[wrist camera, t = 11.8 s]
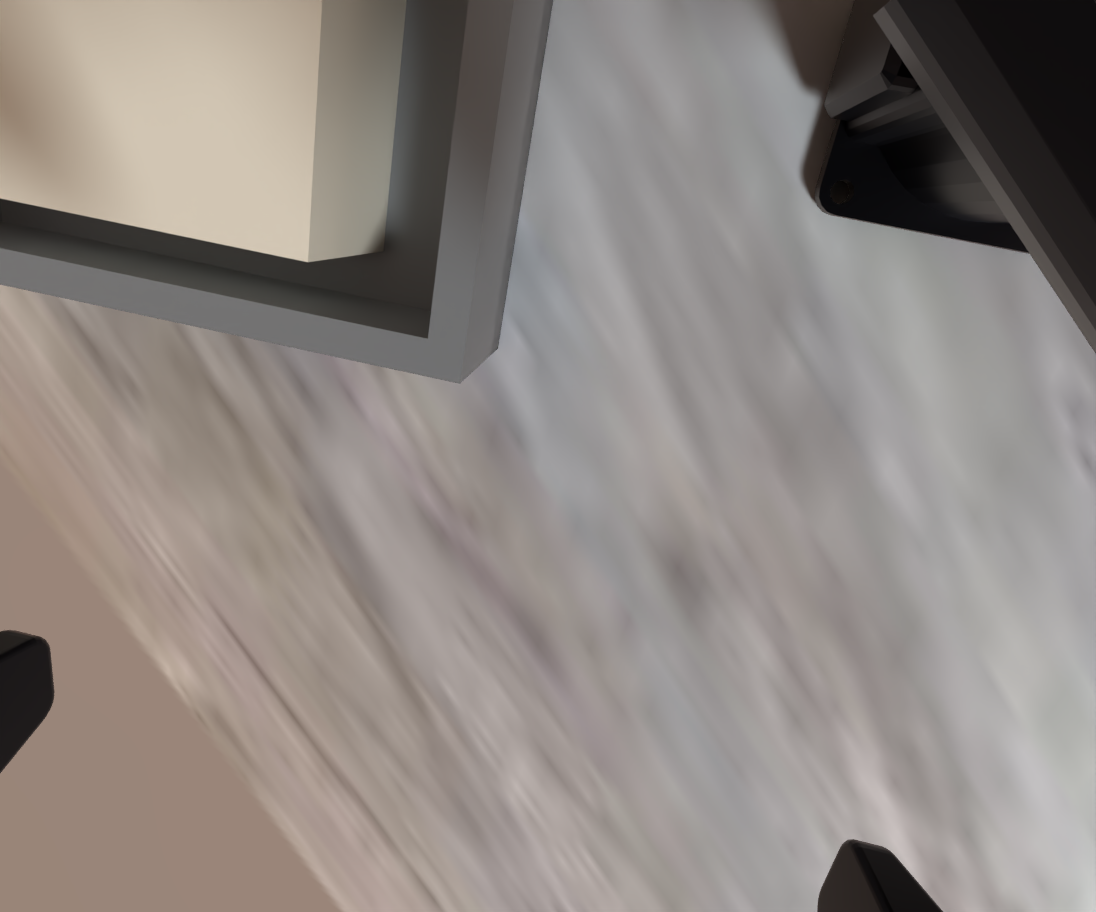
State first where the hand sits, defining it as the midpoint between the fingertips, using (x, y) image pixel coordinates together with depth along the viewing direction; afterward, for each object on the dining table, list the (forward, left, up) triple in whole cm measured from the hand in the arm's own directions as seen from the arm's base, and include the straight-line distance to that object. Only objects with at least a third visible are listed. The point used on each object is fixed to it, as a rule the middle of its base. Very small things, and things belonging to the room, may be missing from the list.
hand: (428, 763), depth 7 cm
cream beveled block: (+9, -7, -11) cm, 16 cm away
